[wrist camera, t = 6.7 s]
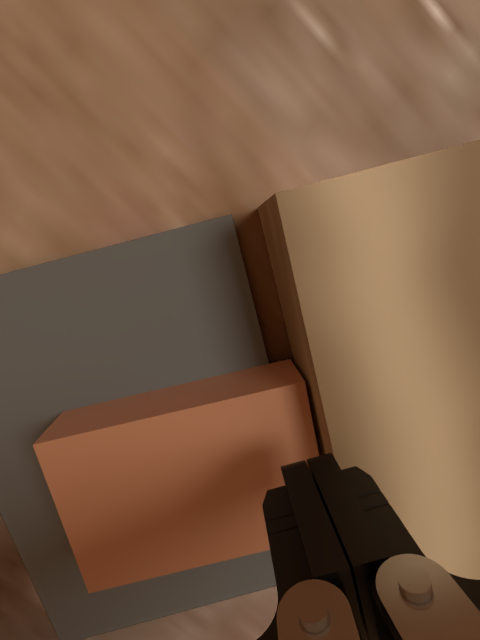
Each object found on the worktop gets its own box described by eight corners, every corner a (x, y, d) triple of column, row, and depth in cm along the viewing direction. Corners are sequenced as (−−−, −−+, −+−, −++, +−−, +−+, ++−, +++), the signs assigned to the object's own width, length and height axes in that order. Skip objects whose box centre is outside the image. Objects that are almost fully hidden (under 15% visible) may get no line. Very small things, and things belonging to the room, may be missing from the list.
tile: (290, 358, 14) (304, 381, 12) (316, 490, 16) (334, 534, 13) (62, 411, 14) (32, 444, 12) (107, 540, 15) (88, 593, 13)
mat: (230, 214, 13) (231, 214, 13) (319, 567, 17) (321, 573, 16) (-92, 299, 13) (-99, 300, 13) (64, 637, 17) (61, 644, 16)
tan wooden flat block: (572, 125, 14) (718, 77, 10) (592, 492, 17) (704, 567, 13) (257, 207, 13) (275, 193, 9) (341, 561, 17) (379, 658, 13)
